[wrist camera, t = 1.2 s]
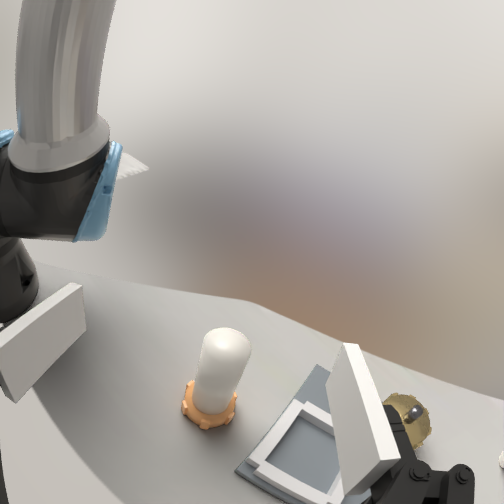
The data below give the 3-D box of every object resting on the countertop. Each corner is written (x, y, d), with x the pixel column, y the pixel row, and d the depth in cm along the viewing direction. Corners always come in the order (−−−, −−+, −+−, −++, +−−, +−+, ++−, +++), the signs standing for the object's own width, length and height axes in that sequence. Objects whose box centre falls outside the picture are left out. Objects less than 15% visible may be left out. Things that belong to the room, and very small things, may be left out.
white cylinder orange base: (171, 404, 26) (177, 340, 21) (203, 377, 31) (221, 310, 25) (213, 438, 24) (236, 387, 19) (243, 407, 29) (275, 347, 23)
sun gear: (354, 444, 25) (384, 422, 22) (373, 398, 32) (398, 373, 29) (405, 468, 22) (438, 448, 19) (417, 422, 29) (444, 398, 26)
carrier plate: (234, 471, 21) (239, 465, 20) (313, 368, 36) (321, 357, 35) (371, 537, 14) (385, 534, 13) (412, 423, 29) (423, 414, 28)
